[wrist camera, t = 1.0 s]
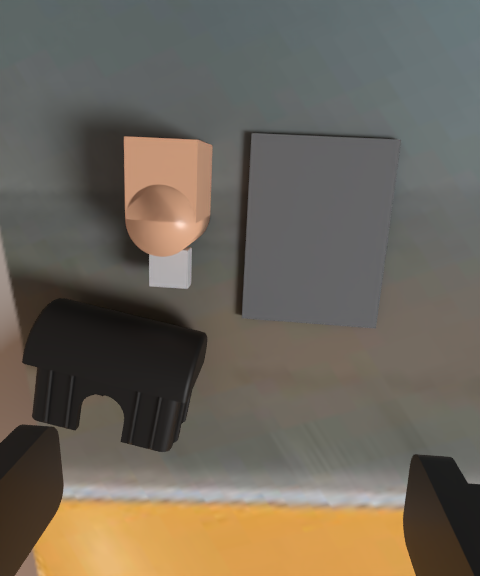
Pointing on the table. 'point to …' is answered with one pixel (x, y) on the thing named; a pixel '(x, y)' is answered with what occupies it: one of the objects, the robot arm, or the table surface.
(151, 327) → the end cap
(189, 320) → the table surface
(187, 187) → the plug
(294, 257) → the mat
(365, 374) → the table surface
